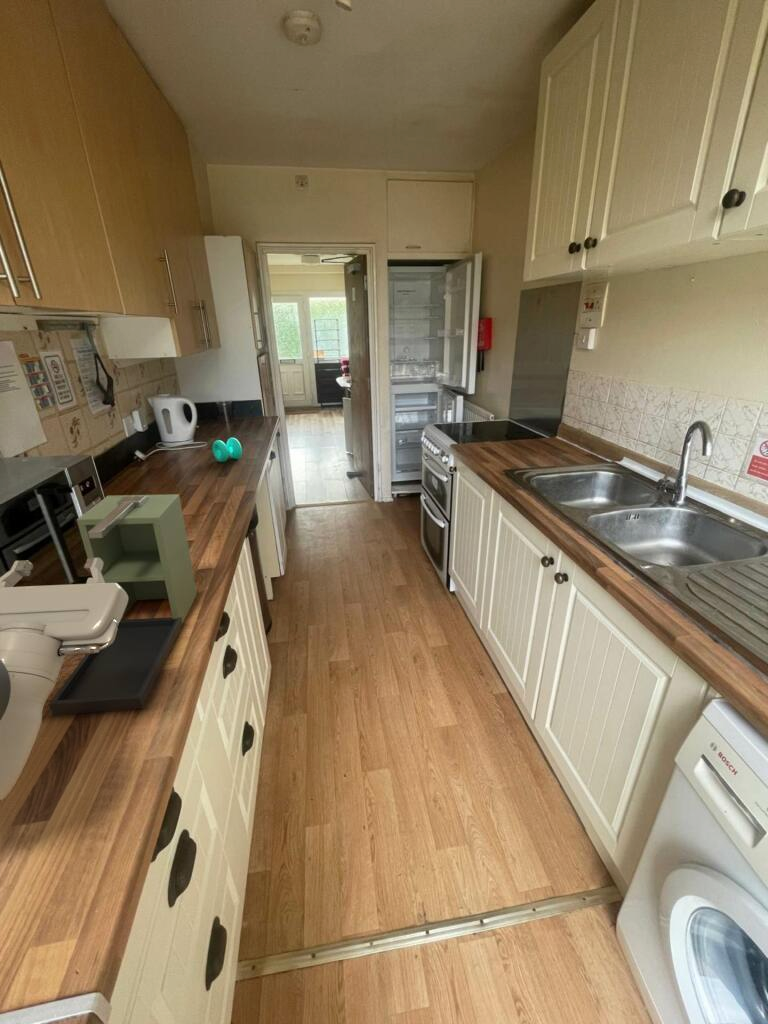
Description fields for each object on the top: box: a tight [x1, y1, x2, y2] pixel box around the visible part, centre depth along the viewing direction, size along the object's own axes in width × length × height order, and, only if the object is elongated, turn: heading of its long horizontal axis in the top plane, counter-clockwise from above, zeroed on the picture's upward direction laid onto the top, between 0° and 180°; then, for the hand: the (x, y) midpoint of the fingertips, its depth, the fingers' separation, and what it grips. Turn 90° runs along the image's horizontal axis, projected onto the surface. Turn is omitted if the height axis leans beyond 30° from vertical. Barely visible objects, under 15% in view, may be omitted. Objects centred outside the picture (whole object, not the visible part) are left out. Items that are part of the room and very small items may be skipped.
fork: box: [88, 496, 149, 538], centre depth 78 cm, size 18×4×1 cm, turn 7°
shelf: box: [76, 493, 198, 624], centre depth 88 cm, size 14×12×25 cm
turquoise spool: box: [212, 437, 243, 463], centre depth 196 cm, size 10×10×10 cm
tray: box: [48, 616, 184, 716], centre depth 78 cm, size 14×21×2 cm, turn 7°
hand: (60, 561), depth 61 cm, fingers open, 8 cm apart
